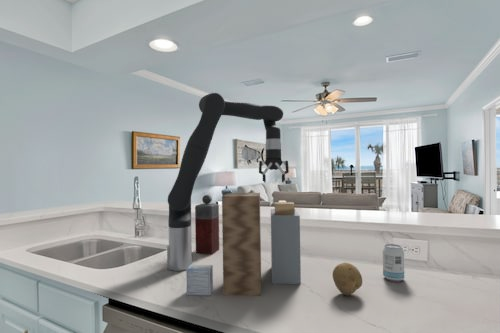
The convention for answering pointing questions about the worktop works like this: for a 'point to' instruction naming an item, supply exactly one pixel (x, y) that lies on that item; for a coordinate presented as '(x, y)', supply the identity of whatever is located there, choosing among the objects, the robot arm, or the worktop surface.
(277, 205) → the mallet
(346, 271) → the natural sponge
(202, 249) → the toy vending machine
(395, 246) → the beverage can
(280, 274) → the short pedestal
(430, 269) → the worktop surface
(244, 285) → the tall pedestal
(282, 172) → the robot arm
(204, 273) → the medicine box
